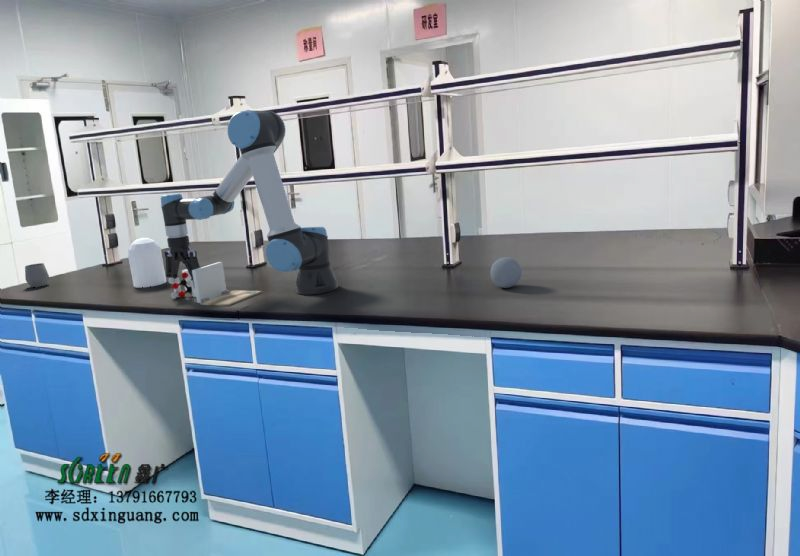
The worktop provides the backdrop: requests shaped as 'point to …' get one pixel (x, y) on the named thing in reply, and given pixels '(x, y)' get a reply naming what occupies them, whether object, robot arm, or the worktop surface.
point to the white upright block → (187, 277)
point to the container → (146, 263)
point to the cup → (36, 275)
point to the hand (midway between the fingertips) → (187, 295)
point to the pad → (230, 298)
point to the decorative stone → (505, 272)
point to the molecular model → (183, 283)
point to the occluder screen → (209, 282)
